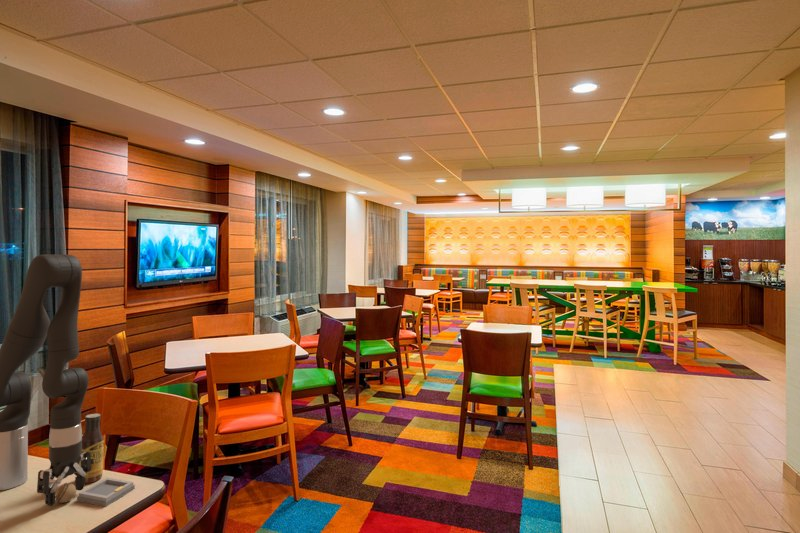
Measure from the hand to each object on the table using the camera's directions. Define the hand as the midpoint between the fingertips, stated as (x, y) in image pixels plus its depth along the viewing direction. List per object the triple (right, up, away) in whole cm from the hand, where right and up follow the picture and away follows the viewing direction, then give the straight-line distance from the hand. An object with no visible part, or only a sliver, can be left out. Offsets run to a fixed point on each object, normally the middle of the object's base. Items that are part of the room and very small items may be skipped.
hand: (65, 497), depth 130 cm
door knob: (0, -1, 0) cm, 1 cm away
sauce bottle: (-1, -1, +13) cm, 13 cm away
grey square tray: (+9, -1, +4) cm, 10 cm away
